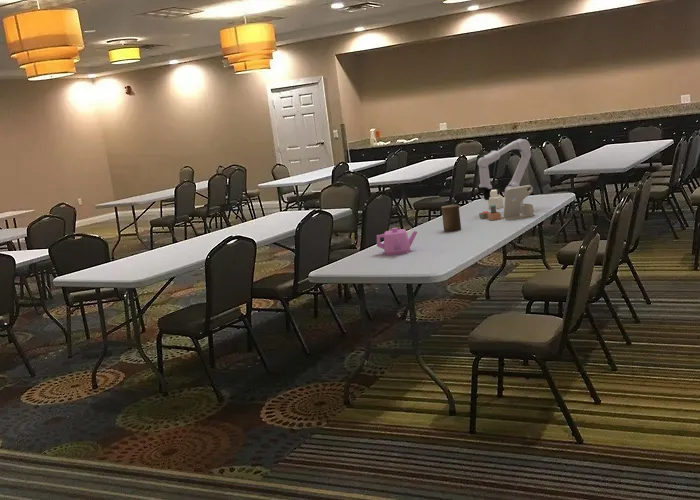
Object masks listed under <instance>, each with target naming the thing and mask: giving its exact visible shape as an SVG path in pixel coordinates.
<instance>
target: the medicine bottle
mask: <svg viewBox="0 0 700 500" xmlns="http://www.w3.org/2000/svg"><path fill="white" fill-rule="evenodd" d="M487 204H488V210H491V208H490V205H492V204H496V210H500V209H502V208H504V198H503V195H500V189H499V188H494V189H493V188H492V189H491V192H490V196H489V200H487ZM499 208H500V209H499Z"/></svg>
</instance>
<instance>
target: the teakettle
mask: <svg viewBox="0 0 700 500" xmlns="http://www.w3.org/2000/svg"><path fill="white" fill-rule="evenodd" d="M417 234H418V231H415V230H413V232H412V233H411V235H410V236H409V237H408V233H407V231H406V229H404V228H402V229H401V228H400V229H399V228H398V227H393V228H391V230H385V231H384V233H381V234H377V235H376V247H378V248H380V249H382V250H384V252H385V254H386V256H395V255H396V254H397V255H403V254H402V253H405V254H408V253H407V252H409V253H410V249H411V246H412V244H413V242H414V240H415V238H416V236H417ZM381 238H383V242H381Z"/></svg>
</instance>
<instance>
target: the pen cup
mask: <svg viewBox="0 0 700 500" xmlns="http://www.w3.org/2000/svg"><path fill="white" fill-rule="evenodd" d="M489 212H490V213H487V214H488V218H487V220H488V221H491V220H493V221H498V219H499V220H502V219H501V217H502V216H501V211H497V210H496V213H493V214H491V211H489Z"/></svg>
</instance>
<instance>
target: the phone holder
mask: <svg viewBox="0 0 700 500" xmlns="http://www.w3.org/2000/svg"><path fill="white" fill-rule="evenodd" d="M529 188H530V189H529ZM528 189H529V190H528ZM533 191H534V187H533V186H532V185H531V184H527V185H521V186H520V185H519V187H513V188H508V189H507V190H506V192H505V191H504V205H503V209H504V210H503V216H501V219H500V220H504V219H505V221H512V219H513V220H518V218H519V219H524V218H531V217H534V216H535V214H534V204H530V203H523V204H521V201H522V200H523V201H524V200H525V199H526V198H527V197H528V196H530V194H532V193H533ZM513 196H515V197H516V199H515V200H514V201H512V200H511V198H512V197H513ZM520 205H521V211H520Z"/></svg>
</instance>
